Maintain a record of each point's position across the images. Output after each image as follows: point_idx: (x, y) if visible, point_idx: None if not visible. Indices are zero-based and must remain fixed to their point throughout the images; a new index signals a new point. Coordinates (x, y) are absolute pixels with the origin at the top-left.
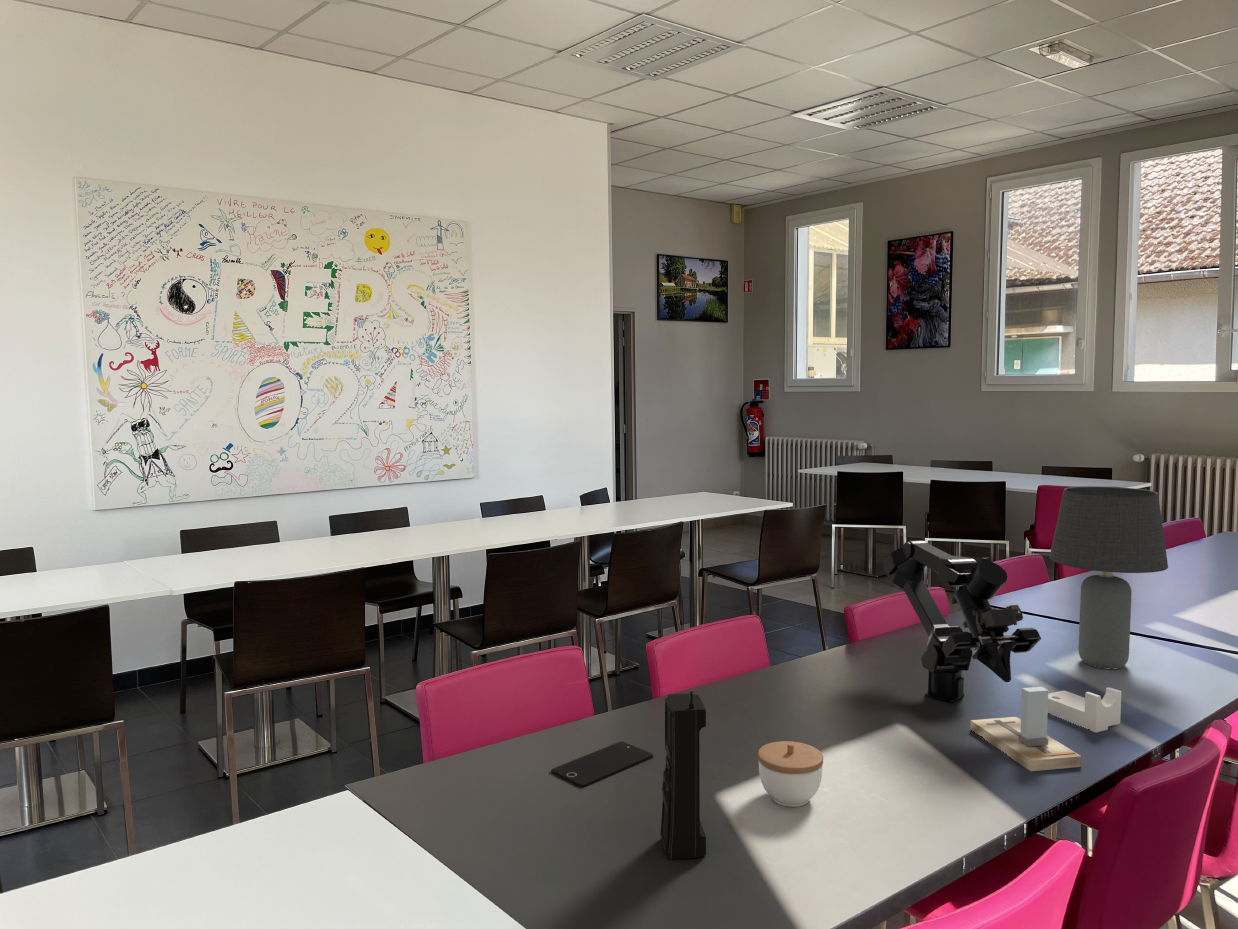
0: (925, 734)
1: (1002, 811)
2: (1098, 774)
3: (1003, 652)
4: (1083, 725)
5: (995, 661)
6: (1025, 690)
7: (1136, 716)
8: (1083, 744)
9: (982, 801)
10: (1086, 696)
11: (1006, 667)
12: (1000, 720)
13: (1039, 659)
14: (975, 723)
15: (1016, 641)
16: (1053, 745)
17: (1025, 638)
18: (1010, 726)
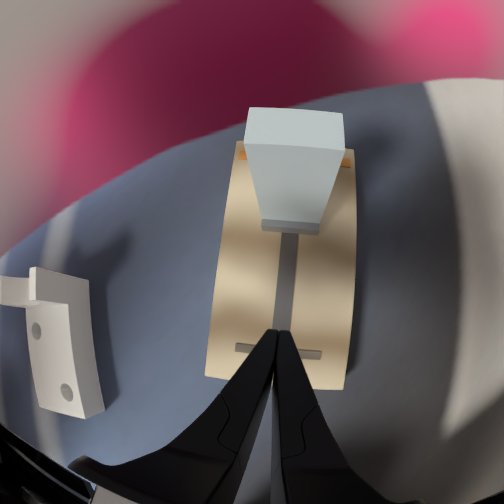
0: (440, 377)
1: (441, 99)
2: (234, 127)
3: (229, 464)
4: (87, 307)
5: (325, 423)
6: (343, 130)
7: (12, 308)
8: (148, 238)
9: (457, 123)
10: (41, 296)
11: (265, 376)
12: None
13: None
14: (345, 368)
15: (52, 490)
16: (251, 194)
17: (3, 464)
18: (268, 325)
